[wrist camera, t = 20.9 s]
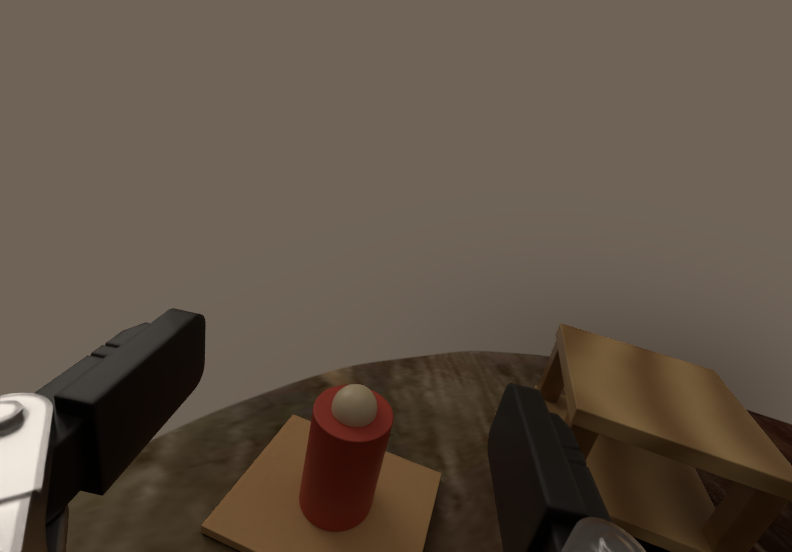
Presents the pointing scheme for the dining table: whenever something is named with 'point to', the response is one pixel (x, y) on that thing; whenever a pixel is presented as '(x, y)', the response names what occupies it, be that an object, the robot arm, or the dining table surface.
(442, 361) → the dining table surface
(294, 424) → the cork mat
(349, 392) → the toy figure
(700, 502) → the shelf
